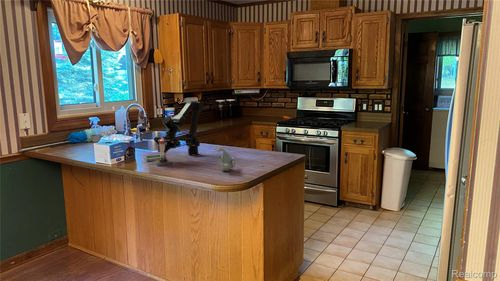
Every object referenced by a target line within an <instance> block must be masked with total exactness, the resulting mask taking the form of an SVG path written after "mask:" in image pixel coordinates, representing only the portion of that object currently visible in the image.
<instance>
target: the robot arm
mask: <svg viewBox="0 0 500 281" xmlns="http://www.w3.org/2000/svg"><path fill="white" fill-rule="evenodd" d="M203 109H204V103H203V102H202V101H198V100H197V101H191V100H190V101H187V102H186V103H185V105H184V107H183V108H182V109H181V111H179V113H178V114H176V115H174V116H173V117H171V116H170V115H167V116H166V117H164V118H162V120H161V122H162V124H163V125H164V127H165V128H166V129H167V130H168V131H165V136H163V137H162V138H161V136H155V137H154V139H153V141H154V142H155V144H156V145H157V146H158V147H157V148H158V149H157V150H158V153H160V149H159V142H158V140H160V139H167V142H166V147H165V150H164V153H166V152H168V151H169V150H170V149H176V148H178V147H179V148H180V147H181V144H182V142H181V141H180V140H179V139H178V138H177V136H176V135H177V133H178V132H181V129H180V127H182V126H184V123H185V122H186V117H187V116H188V114H189V113H190V112H192V114H191V120H190V125H189V132H188V133H186V134H185V138H184V139H185V140H184V142H185V145H186V147H188V148H187V153H188V155H189V156H195V155H199V147H200V145H201V143H200V141H199V138H198V135H197V129H198V124H199V118H200V115H201V113H202V111H203Z"/></svg>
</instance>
